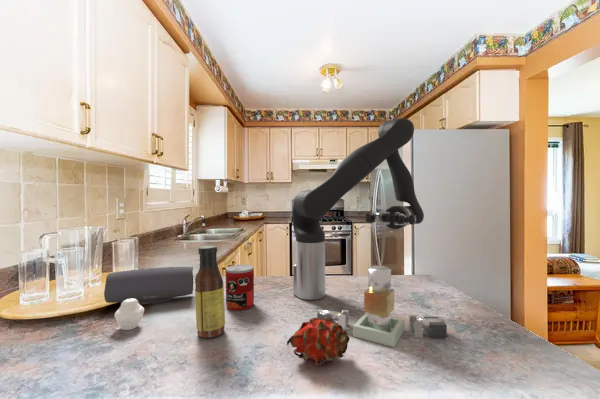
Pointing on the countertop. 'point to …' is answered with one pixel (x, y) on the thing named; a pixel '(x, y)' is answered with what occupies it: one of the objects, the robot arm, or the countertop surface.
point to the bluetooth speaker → (149, 284)
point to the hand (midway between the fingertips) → (384, 219)
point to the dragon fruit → (320, 340)
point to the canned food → (239, 287)
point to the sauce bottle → (209, 295)
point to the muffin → (129, 314)
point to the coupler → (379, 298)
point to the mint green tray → (379, 331)
